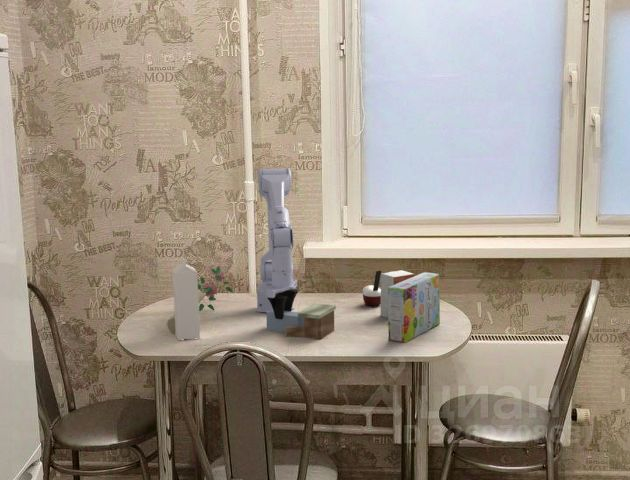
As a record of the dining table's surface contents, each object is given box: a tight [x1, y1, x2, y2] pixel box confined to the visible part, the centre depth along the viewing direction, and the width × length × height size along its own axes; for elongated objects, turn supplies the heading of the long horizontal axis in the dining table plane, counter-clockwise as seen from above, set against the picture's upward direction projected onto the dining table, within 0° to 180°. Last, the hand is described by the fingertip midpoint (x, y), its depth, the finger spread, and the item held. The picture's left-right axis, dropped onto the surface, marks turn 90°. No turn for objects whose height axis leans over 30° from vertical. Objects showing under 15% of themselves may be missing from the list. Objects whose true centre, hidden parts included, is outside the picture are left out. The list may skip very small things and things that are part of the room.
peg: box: [265, 310, 304, 333], centre depth 225 cm, size 10×4×5 cm, turn 64°
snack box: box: [387, 271, 441, 343], centre depth 220 cm, size 21×6×15 cm, turn 145°
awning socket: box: [285, 302, 337, 340], centre depth 221 cm, size 10×12×7 cm
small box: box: [380, 269, 415, 318], centre depth 237 cm, size 8×6×13 cm
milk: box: [172, 257, 201, 341], centre depth 217 cm, size 6×6×22 cm
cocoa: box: [362, 270, 382, 308], centre depth 248 cm, size 10×6×12 cm, turn 177°
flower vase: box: [166, 265, 234, 333], centre depth 239 cm, size 12×12×35 cm
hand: (283, 316), depth 225 cm, fingers closed on peg, 4 cm apart
